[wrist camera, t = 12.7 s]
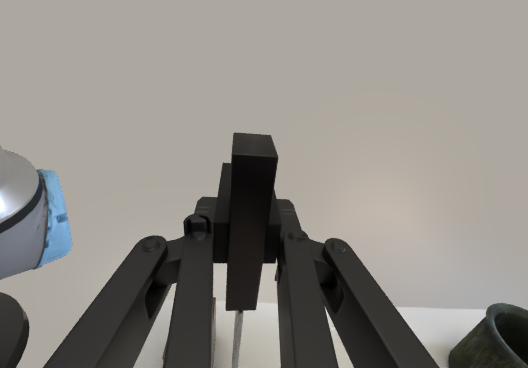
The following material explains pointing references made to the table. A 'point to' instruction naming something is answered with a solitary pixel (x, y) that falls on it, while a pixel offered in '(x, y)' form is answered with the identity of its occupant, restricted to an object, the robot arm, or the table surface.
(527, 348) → the mug
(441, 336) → the table surface
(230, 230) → the knife
